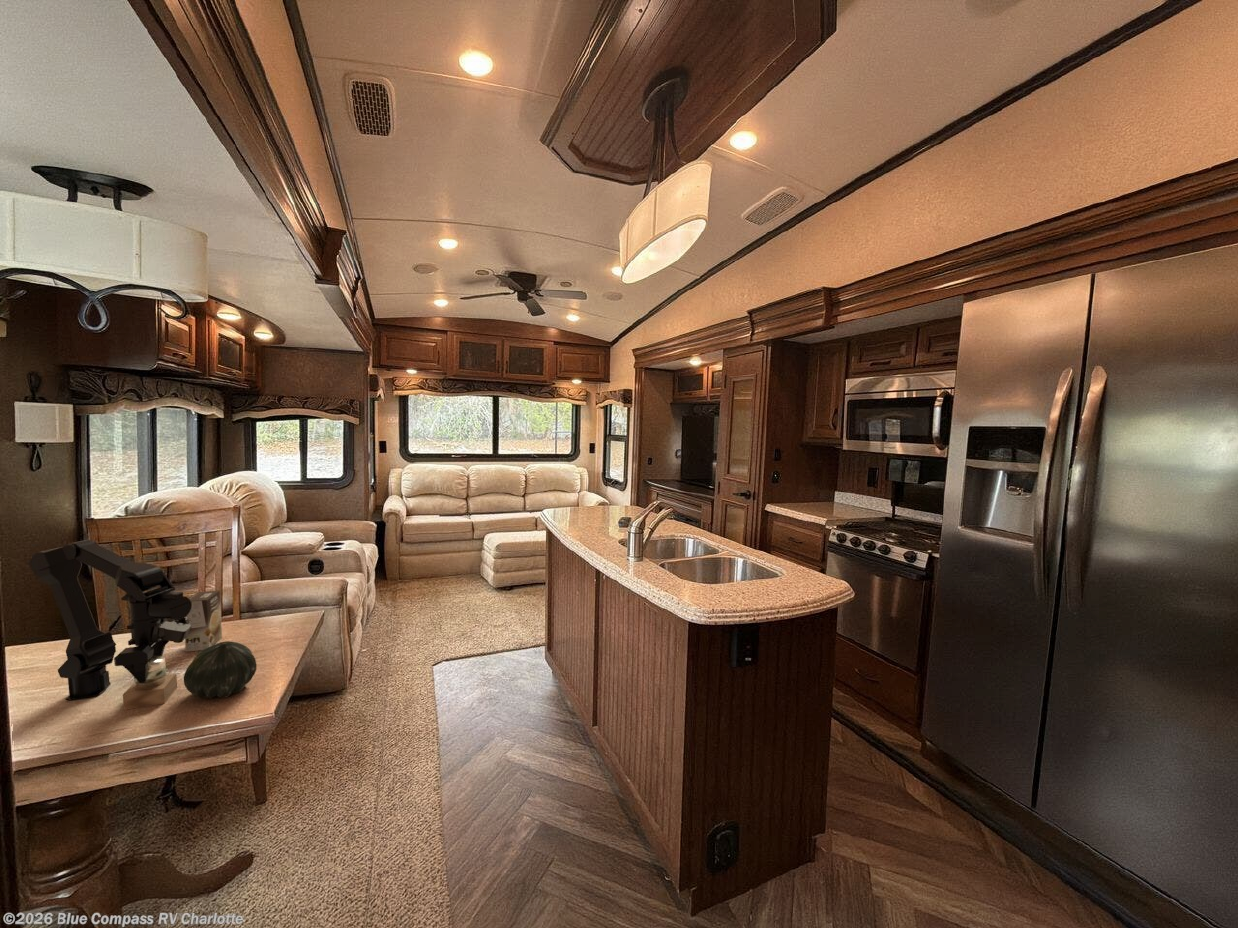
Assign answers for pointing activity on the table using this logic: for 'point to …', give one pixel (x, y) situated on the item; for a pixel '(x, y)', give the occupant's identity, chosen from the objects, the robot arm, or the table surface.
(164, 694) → the block
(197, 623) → the coffee box
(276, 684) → the table surface
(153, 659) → the tin
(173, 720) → the table surface
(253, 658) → the squash
